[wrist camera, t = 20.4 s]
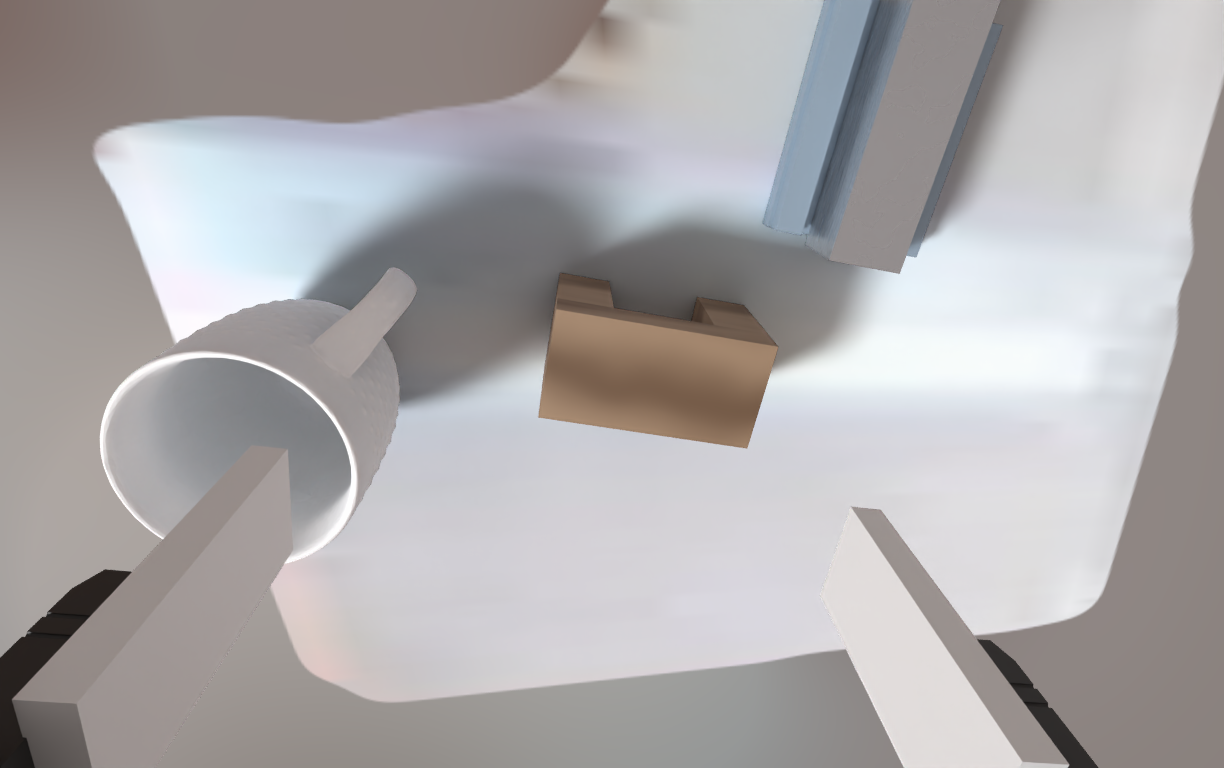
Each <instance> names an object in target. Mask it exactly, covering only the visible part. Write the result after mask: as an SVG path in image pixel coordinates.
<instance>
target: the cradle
mask: <svg viewBox="0 0 1224 768" xmlns="http://www.w3.org/2000/svg"><path fill="white" fill-rule="evenodd" d="M879 2H880V0H824V4H823V7H822V11H821V14H820V18H819V22H818V25H817V29H816V32H815V36H814V40H813V43H812V47H811V50H810V54H809V58H808V61H807V65H806V69H805V72H804V76H803V79H802V83H801V87H800V90H799V94H798V97H797V101H796V105H795V108H794V112H793V115H792V119H791V123H790V126H789V130H788V134H787V137H786V141H785V144H784V148H783V152H782V155H781V159H780V162H779V166H778V170H777V173H776V177H775V180H774V184H773V188H772V191H771V195H770V199H769V202H768V206H767V209H766V213H765V217H764V220H763V224H764V225H765V226H767V227H771V228H773V229H774V230H776V231H781V232H786V233H791V234H796V235H802V233H803V234H808V233H809V229H810V226H811V223H812V220H813V216H814V213H815V210H816V207H817V203H818V200H819V197H820V194H821V190H822V187H823V184H824V181H825V177H826V174H827V171H828V168H829V164H830V161H831V158H832V155H833V151H834V148H835V145H836V142H837V138H838V135H839V132H840V129H841V125H842V122H843V119H844V116H845V112H846V109H847V106H848V103H849V99H850V96H851V93H852V90H853V86H854V83H855V80H856V77H857V73H858V70H859V67H860V64H861V60H862V57H863V54H864V51H865V47H866V44H867V41H868V38H869V34H870V31H871V28H872V25H873V21H874V18H875V15H876V12H877V8H878V5H879ZM1002 27H1003V25H1000V24H995V23H992V25H991V28H990V31H989V33H988V36H987V39H986V41H985V44H984V47H983V50H982V52H981V55H980V58H979V60H978V63H977V66H976V68H975V71H974V74H973V77H972V79H971V82H970V85H969V87H968V90H967V93H966V95H965V98H964V101H963V104H962V106H961V109H960V112H959V114H958V117H957V120H956V122H955V125H954V128H953V131H952V133H951V136H950V139H949V141H948V144H947V147H946V150H945V152H944V155H943V158H942V160H941V163H940V166H939V168H938V171H937V174H936V177H935V179H934V182H933V185H932V187H931V190H930V193H929V195H928V198H927V201H926V204H925V206H924V209H923V212H922V214H921V217H920V220H919V222H918V225H917V228H916V231H915V233H914V236H913V239H912V241H911V244H910V247H909V250H908V252H907V255H906V256H911V257H917V254H918V252H919V249H920V246H921V243H922V241H923V238H924V235H925V233H926V230H927V227H928V225H929V222H930V219H931V217H932V214H933V211H934V209H935V206H936V203H937V201H938V198H939V195H940V193H941V190H942V187H943V185H944V182H945V179H946V177H947V174H948V171H949V169H950V166H951V163H952V161H953V158H954V155H955V153H956V150H957V147H958V145H959V142H960V139H961V137H962V134H963V131H964V129H965V126H966V123H967V121H968V118H969V115H970V113H971V110H972V107H973V105H974V102H975V99H976V97H977V94H978V91H979V89H980V86H981V83H982V81H983V78H984V75H985V73H986V70H987V67H988V65H989V62H990V59H991V56H992V54H993V51H994V48H995V46H996V43H997V40H998V38H999V35H1000V32H1001V30H1002Z"/></svg>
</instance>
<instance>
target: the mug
mask: <svg viewBox="0 0 1224 768" xmlns="http://www.w3.org/2000/svg"><path fill="white" fill-rule="evenodd" d="M416 293H417V287H416V285H415V283H414V281H413V280H412V279H411V278H410V277H409V276H408V275H407V274H406V273H405V272H403V271H402V270H400V269H398V268H395V267H391V268H389V269H388V270H387V271H386V273H385V274H384V275H383V276H382V278H381V279H380V281H379V282H378V283H377V284H376V285H375V286H374V287H373V288H372V289H371V290H370V292H369V293H368V294H367V295H366V296H365V297H364V298H363V299H362V300H361V301H360V302H359V303H358V304H357V305H356V306H355V307H354V308H353V309H352V310H348V309H346V308H344V307H342V306H340V305H335V304H332V303H330V302H327V301H318V300H314V299H311V300H307V299H302V298H301V299H297V300H293V299H288V300H284V301H272V302H270V303H267V304H258V305H256V306H254V307H252V308H245V309H242V310H240V311H239V312H237V313H234V314H229V315H227V316H225V317H224V318H223V319H221V320H219V321H215V322H212V323H210V324H209V325H208V326H206V327H205V328H202V329H199V330H197V331H196V332H194V333H193V334H192V335H191V336H189V337H187V338H185V339H182V340H180V341H179V342H178V343H177V344H176V345H175V346H173V347H171V348H169V349H167V350H165V351H164V352H163V353H162V354H160V355H159V356H157V357H156V358H154V359H152V360H150V361H149V362H147V363H146V364H144V365H143V366H142V367H140V368H139V369H137V370H136V371H134V372H133V373H132V374H131V375H130V376H128V377H127V378H126V379H125V380H124V381H123V383H122V384H121V385H120V386H119V387H118V388H117V390H116V391H115V393H114V394H113V396H112V397H111V399H110V401H109V403H108V405H107V407H106V410H105V413H104V416H103V420H102V424H101V432H100V450H101V457H102V461H103V465H104V468H105V471H106V474H107V477H108V479H109V481H110V483H111V485H112V487H113V489H114V491H115V492H116V494H117V496H118V497H119V498H120V500H121V501H122V502H123V504H124V505H125V506H126V508H127V509H128V510H129V511H130V512H131V513H132V514H133V515H134V516H135V518H136V519H137V520H138V521H140V522H141V523H142V524H143V525H144V526H145V527H146V528H147V529H149V530H150V531H151V532H153V533H154V534H156V535H157V536H158V537H160V538H162V539H164V538H165V537H166V536H167V534H168V533H169V532H170V531H171V530H172V529H173V528H174V527H175V526H176V525H177V524H178V523H179V522H180V521H181V520H182V519H183V518H184V516H185V515H186V514H187V513H188V512H189V511H190V510H191V509H192V508H193V507H194V506H195V505H196V504H197V503H198V502H199V501H200V499H201V498H202V497H203V496H204V495H205V494H206V493H207V492H208V491H209V490H210V489H211V488H212V487H213V486H214V485H215V484H216V483H217V481H218V480H219V479H220V478H221V477H222V476H223V475H224V474H225V473H226V472H227V471H228V470H229V469H230V468H231V467H232V466H233V464H234V463H235V462H236V461H237V460H238V459H239V458H240V457H241V456H242V455H243V454H244V453H245V452H246V451H247V450H248V449H249V448H250V446H251V445H255V446H264V447H274V448H284V449H288V461H289V481H290V500H291V519H292V539H293V551H292V552H291V554H290V555H289V557H288V559H287V560H286V562H285V563H284V564H286V563H290V562H294V561H297V560H300V559H302V558H305V557H307V556H309V555H311V554H313V553H315V552H317V551H319V550H320V549H322V548H323V547H325V546H326V545H327V544H329V543H330V542H331V541H332V540H333V539H334V538H336V537H337V536H338V535H339V533H340V532H341V531H342V530H343V529H344V528H345V526H346V525H347V523H348V522H349V520H350V519H351V517H352V515H353V514H354V512H355V510H356V508H357V506H358V505H359V503H360V502H361V501H362V499H363V496H364V494H365V492H366V490H367V489H368V487H369V486H370V485H371V482H372V479H373V477H374V475H375V473H376V472H377V471H378V469H379V466H380V462H381V460H382V459H383V457H384V456H385V454H386V448H387V446H388V445H389V444H390V442H391V436H392V433H393V431H394V429H395V427H396V418H397V416H398V405H399V403H400V397H399V391H400V384H399V382H398V381H399V376H398V372H397V366H396V363H395V361H394V358H393V354H392V352H391V350H390V349H389V347H388V344H387V342H386V341H385V340H384V339H383V336H384V335H385V334H386V333H387V332H388V331H389V330H390V329H391V327H392V326H393V325H394V324H395V323H396V321H397V320H398V319H399V318H400V316H401V315H402V314H403V313H404V311H405V310H406V309H407V308H408V306H409V305H410V304H411V302H412V300H413V299H414V297H415V295H416Z"/></svg>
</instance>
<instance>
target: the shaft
mask: <svg viewBox="0 0 1224 768" xmlns="http://www.w3.org/2000/svg"><path fill="white" fill-rule="evenodd" d="M1000 1H1001V0H880V2H879V5H878V8H877V12H876V15H875V18H874V21H873V25H872V28H871V31H870V34H869V38H868V41H867V44H866V47H865V51H864V54H863V57H862V60H861V64H860V67H859V70H858V73H857V77H856V80H855V83H854V86H853V90H852V93H851V96H850V99H849V103H848V106H847V109H846V112H845V116H844V119H843V122H842V125H841V129H840V132H839V135H838V138H837V142H836V145H835V148H834V151H833V155H832V158H831V161H830V164H829V168H828V171H827V174H826V177H825V181H824V184H823V187H822V190H821V194H820V197H819V200H818V203H817V207H816V210H815V213H814V216H813V220H812V223H811V226H810V229H809V233H808V236H807V239H806V242H805V246H807V247H808V248H810V249H812V250H813V251H815V252H816V253H818V254H820V255H821V256H823V257H825V258H826V259H828V260H830V261H835V262H840V263H846V264H851V265H856V266H861V267H867V268H872V269H877V270H883V271H888V272H893V273H898V274H900V271H901V268H902V266H903V263H904V260H905V258H906V255H907V252H908V250H909V247H910V244H911V241H912V239H913V236H914V233H915V231H916V228H917V225H918V222H919V220H920V217H921V214H922V212H923V209H924V206H925V204H926V201H927V198H928V195H929V193H930V190H931V187H932V185H933V182H934V179H935V177H936V174H937V171H938V168H939V166H940V163H941V160H942V158H943V155H944V152H945V150H946V147H947V144H948V141H949V139H950V136H951V133H952V131H953V128H954V125H955V122H956V120H957V117H958V114H959V112H960V109H961V106H962V104H963V101H964V98H965V95H966V93H967V90H968V87H969V85H970V82H971V79H972V77H973V74H974V71H975V68H976V66H977V63H978V60H979V58H980V55H981V52H982V50H983V47H984V44H985V41H986V39H987V36H988V33H989V31H990V28H991V25H992V23H993V20H994V17H995V14H996V12H997V9H998V6H999V4H1000Z"/></svg>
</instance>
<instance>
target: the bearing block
mask: <svg viewBox="0 0 1224 768" xmlns="http://www.w3.org/2000/svg"><path fill="white" fill-rule="evenodd" d="M777 350H778V346H777V345H776V343H775V342H774V341H773V340H772V338H771V337H770V336H769V335H768V334H767V332H766V331H765V330H764V329H763V328H762V326H761V325H760V324H759V323H758V322H757V320H756V319H755V318H754V317H753V316H752V314H751V313H750V312H749V311H748V309H747V308H746V307H745V306H744V305H740V304H734V303H728V302H723V301H717V300H711V299H706V298H700V297H697V300H696V304H695V308H694V312H693V316H692V320H691V321H688V320H682V319H676V318H671V317H665V316H659V315H653V314H647V313H641V312H636V311H630V310H624V309H618V308H614V306H613V300H612V295H611V289H610V284H609V281H604V280H598V279H592V278H587V277H581V276H575V275H570V274H564V273H560V275H559V281H558V287H557V293H556V299H555V305H554V311H553V318H552V324H551V330H550V336H549V342H548V348H547V354H546V361H545V367H544V375H543V384H542V392H541V400H540V408H539V416H538V417H539V418H546V419H553V420H559V421H566V422H573V423H579V424H586V425H593V426H600V427H606V428H613V429H620V430H626V431H633V432H640V433H647V434H653V435H660V436H667V437H673V438H680V439H687V440H694V441H700V442H707V443H714V444H720V445H727V446H734V447H741V448H747V447H748V444H749V441H750V438H751V434H752V431H753V428H754V425H755V421H756V418H757V415H758V412H759V408H760V405H761V402H762V399H763V395H764V392H765V389H766V386H767V382H768V379H769V376H770V373H771V369H772V366H773V363H774V360H775V357H776V353H777Z"/></svg>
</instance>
